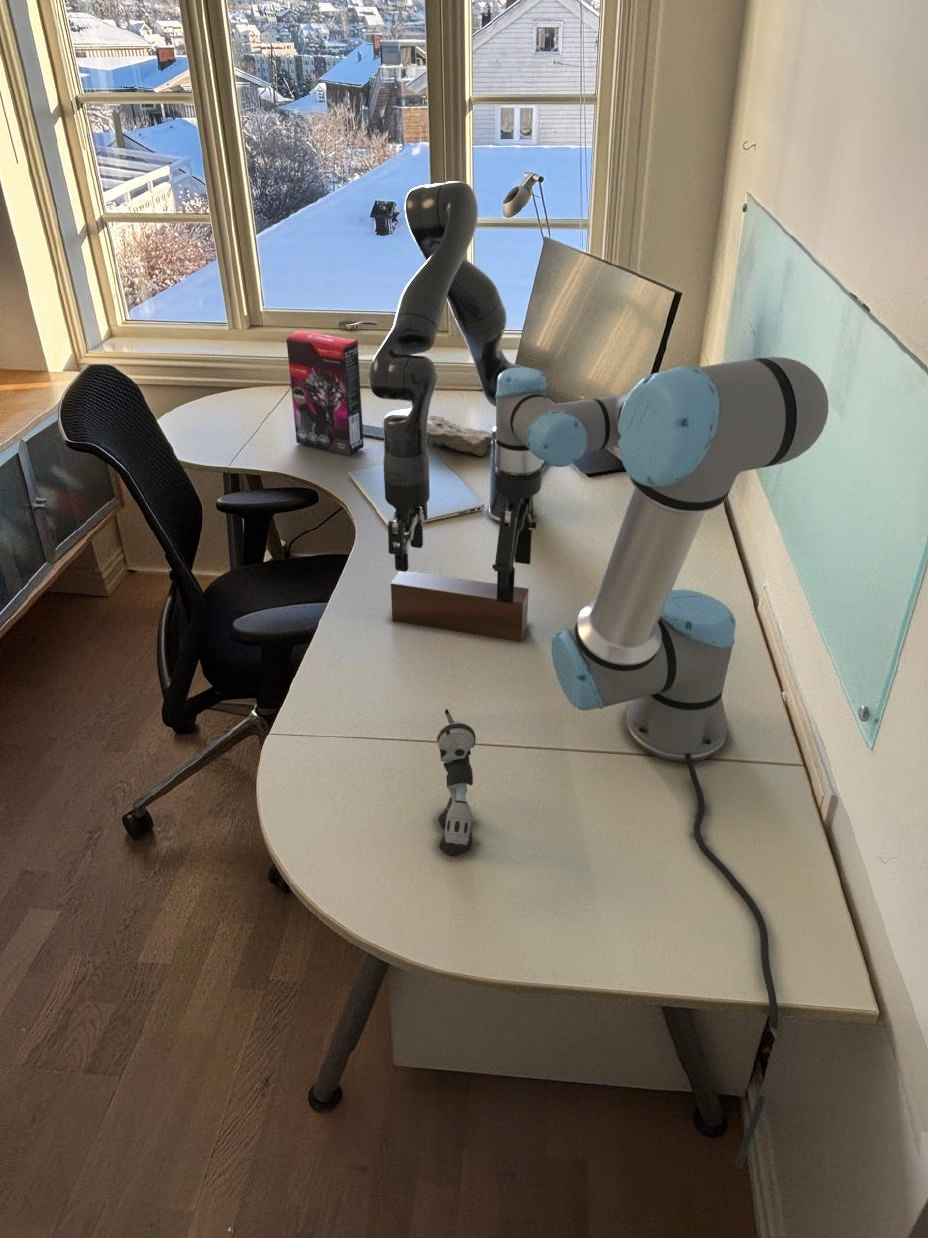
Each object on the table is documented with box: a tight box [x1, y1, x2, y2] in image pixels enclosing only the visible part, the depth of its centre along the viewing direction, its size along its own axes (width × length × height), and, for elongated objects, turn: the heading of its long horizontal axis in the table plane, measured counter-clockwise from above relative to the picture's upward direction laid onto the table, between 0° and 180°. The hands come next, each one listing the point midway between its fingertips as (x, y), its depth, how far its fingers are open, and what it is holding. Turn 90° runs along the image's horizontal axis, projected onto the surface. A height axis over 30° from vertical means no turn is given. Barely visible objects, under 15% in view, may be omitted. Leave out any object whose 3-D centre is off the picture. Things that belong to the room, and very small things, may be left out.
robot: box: [436, 708, 477, 857], centre depth 119 cm, size 20×5×20 cm, turn 3°
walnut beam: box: [390, 570, 530, 642], centre depth 165 cm, size 5×24×8 cm, turn 75°
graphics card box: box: [285, 330, 365, 456], centre depth 225 cm, size 17×7×27 cm, turn 62°
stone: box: [427, 415, 492, 457], centre depth 232 cm, size 21×15×6 cm
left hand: (409, 558), depth 162 cm, fingers open, 8 cm apart
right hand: (514, 581), depth 159 cm, fingers open, 13 cm apart
